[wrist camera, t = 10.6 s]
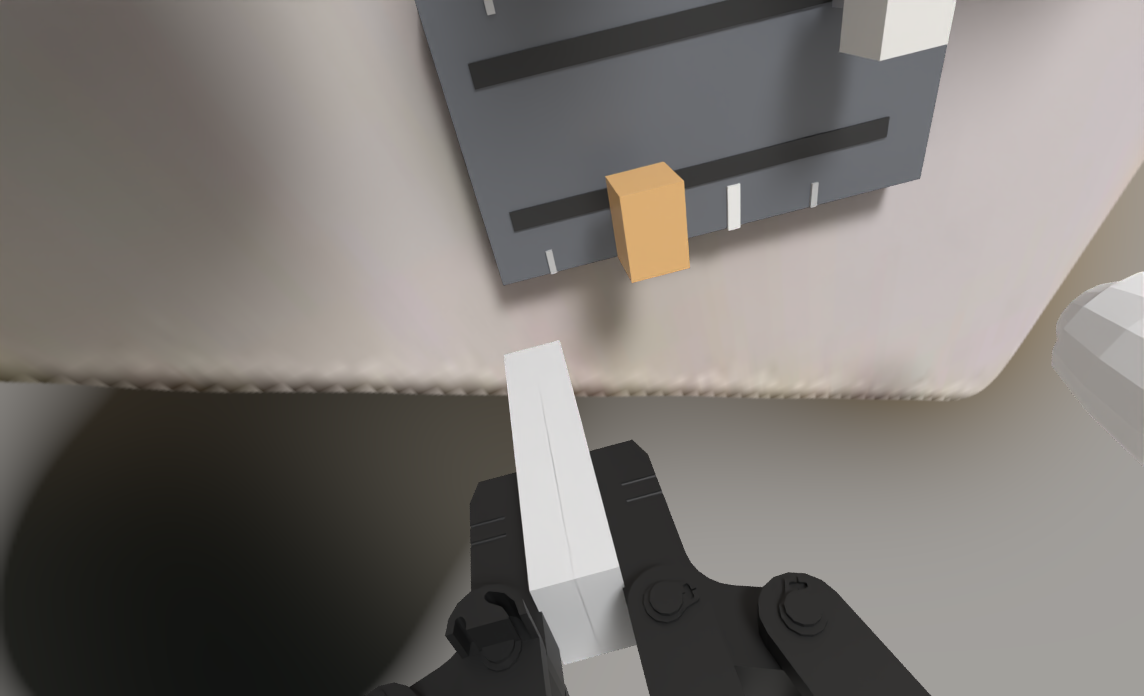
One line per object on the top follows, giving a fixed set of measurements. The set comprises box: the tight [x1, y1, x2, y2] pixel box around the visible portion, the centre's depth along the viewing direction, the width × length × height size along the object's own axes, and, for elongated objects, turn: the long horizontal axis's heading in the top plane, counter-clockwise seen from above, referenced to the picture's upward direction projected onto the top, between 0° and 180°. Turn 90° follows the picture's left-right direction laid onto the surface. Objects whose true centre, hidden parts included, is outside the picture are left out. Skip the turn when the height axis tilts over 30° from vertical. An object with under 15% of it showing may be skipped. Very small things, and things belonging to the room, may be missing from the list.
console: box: [415, 0, 947, 285], centre depth 23 cm, size 21×12×2 cm, turn 101°
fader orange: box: [605, 162, 690, 283], centre depth 22 cm, size 2×4×4 cm, turn 11°
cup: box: [1052, 271, 1144, 467], centre depth 22 cm, size 7×7×21 cm
